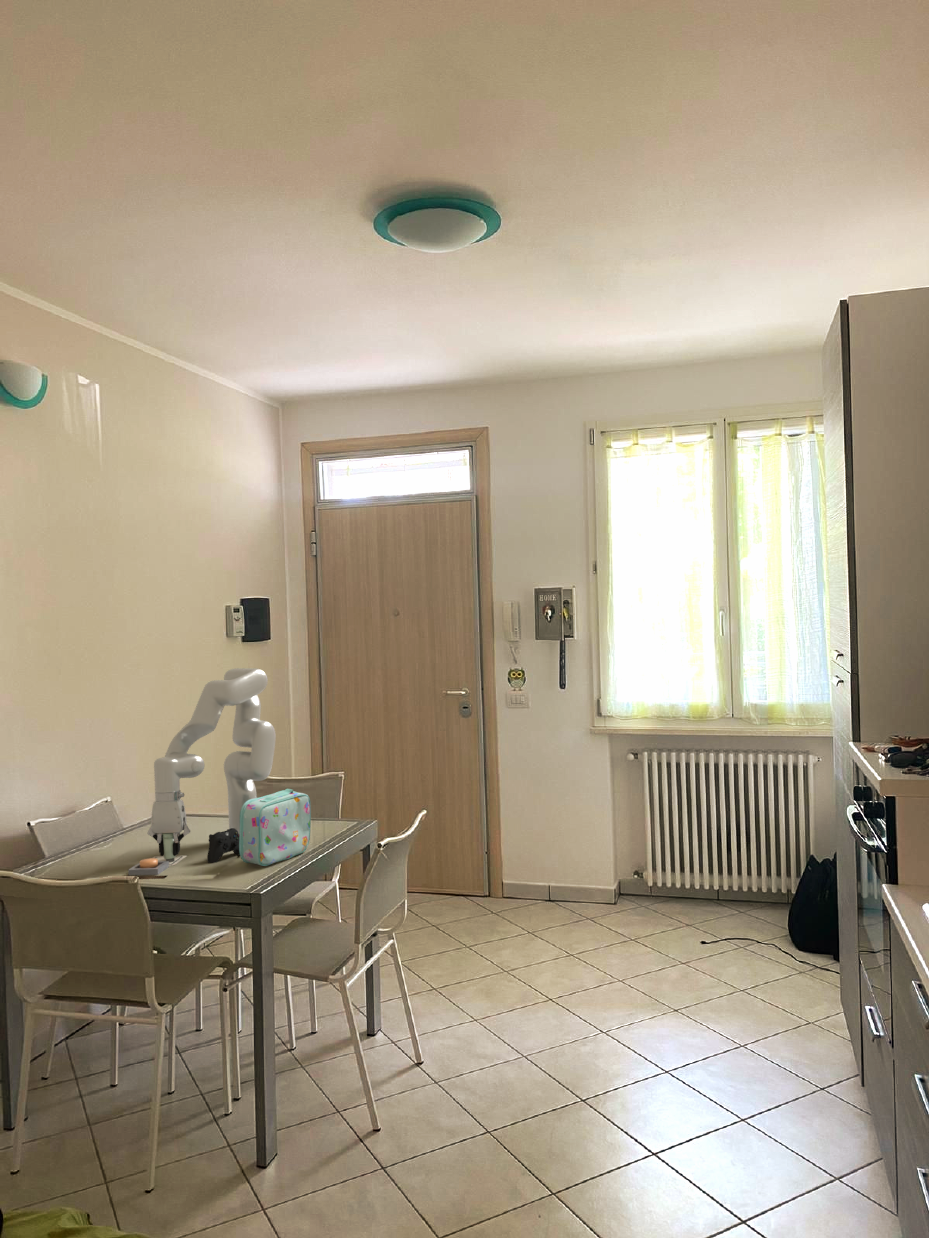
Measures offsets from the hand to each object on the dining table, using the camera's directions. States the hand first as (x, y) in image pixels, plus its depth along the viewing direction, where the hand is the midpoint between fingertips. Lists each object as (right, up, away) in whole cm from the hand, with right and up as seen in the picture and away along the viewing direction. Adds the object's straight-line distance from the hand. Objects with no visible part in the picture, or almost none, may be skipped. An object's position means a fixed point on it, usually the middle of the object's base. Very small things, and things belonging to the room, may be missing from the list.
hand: (169, 854), depth 296 cm
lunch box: (+33, -2, +3) cm, 34 cm away
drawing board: (-2, -3, -4) cm, 6 cm away
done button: (-3, -1, -11) cm, 11 cm away
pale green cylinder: (0, -2, 0) cm, 2 cm away
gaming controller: (+17, -3, +2) cm, 18 cm away
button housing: (-3, -3, -11) cm, 12 cm away
